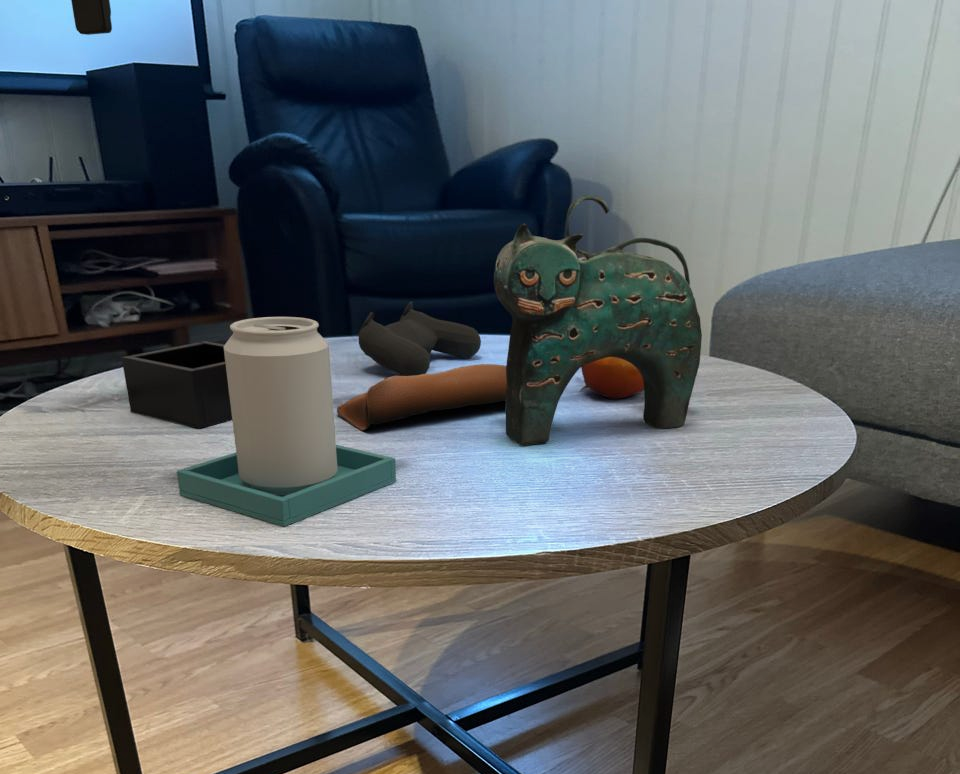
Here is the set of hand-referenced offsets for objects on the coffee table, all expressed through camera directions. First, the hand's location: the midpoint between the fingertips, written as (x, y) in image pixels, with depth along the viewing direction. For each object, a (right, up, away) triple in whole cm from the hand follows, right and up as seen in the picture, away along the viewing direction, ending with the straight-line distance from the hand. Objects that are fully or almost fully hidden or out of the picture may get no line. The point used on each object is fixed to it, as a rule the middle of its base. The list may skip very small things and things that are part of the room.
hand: (29, 26), depth 61 cm
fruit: (+44, -14, +39) cm, 60 cm away
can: (+15, -28, +11) cm, 34 cm away
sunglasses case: (+25, -18, +32) cm, 44 cm away
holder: (+2, -17, +32) cm, 37 cm away
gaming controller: (+22, -7, +51) cm, 56 cm away
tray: (+15, -28, +11) cm, 34 cm away
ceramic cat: (+40, -21, +26) cm, 52 cm away
